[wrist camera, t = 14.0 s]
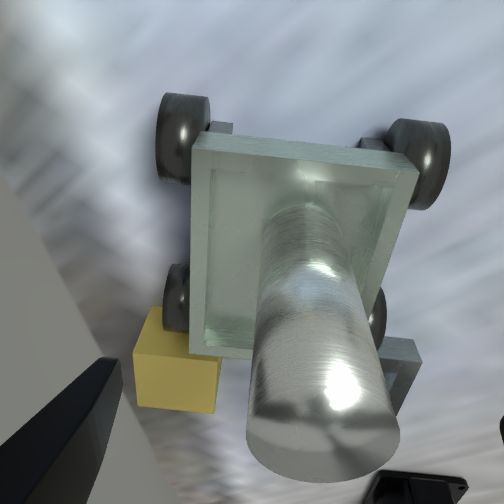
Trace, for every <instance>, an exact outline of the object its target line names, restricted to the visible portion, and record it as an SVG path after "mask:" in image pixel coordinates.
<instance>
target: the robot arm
mask: <svg viewBox="0 0 504 504" xmlns="http://www.w3.org/2000/svg"><path fill="white" fill-rule="evenodd" d="M122 388H123V379H122V371H121V363H120V361H119V359H117V358H109V357H101V358H99V359H98V360H97V361H95V362H94V363H93V364H92V365H91V366H90V367H89V368H87V369H86V370H85V371H84V372H83V373H82V374H81V375H80V376H78V377H77V378H76V379H75V380H74V381H73V382H72V383H71V384H69V385H68V386H67V387H66V388H65V389H64V390H63V391H62V392H60V394H58V395H57V396H56V397H55V398H54V399H53V400H52V401H50V402H49V403H48V404H47V405H46V406H45V407H44V408H43V409H41V410H40V411H39V412H38V413H37V414H36V415H35V416H34V417H32V418H31V419H30V420H29V421H28V422H27V423H26V424H25V425H23V426H22V427H21V428H20V429H19V430H18V431H17V432H16V433H15V434H13V435H12V436H11V437H10V438H9V439H8V440H7V441H6V442H4V443H3V444H2V445H1V446H0V504H86V503H87V500H88V498H89V495H90V493H91V490H92V487H93V485H94V482H95V480H96V477H97V475H98V472H99V470H100V467H101V464H102V461H103V458H104V455H105V451H106V448H107V444H108V441H109V437H110V433H111V429H112V426H113V422H114V419H115V415H116V411H117V408H118V404H119V400H120V396H121V393H122ZM500 433H501V436H502V440H503V443H504V416H503V417H502V419H501V421H500ZM468 488H469V486H468V484H467V481H466V480H465V479H459V478H449V477H439V476H429V475H419V474H409V473H399V472H389V471H383V472H380V473H379V474H378V476H377V478H376V480H375V481H374V483H373V485H372V487H371V489H370V491H369V493H368V495H367V497H366V499H365V501H364V503H363V504H457V503H458V501H459V500H460V499H461V498H462V496H463V495H464V494H465V492H466V491H467V490H468Z"/></svg>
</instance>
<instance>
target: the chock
mask: <svg viewBox="0 0 504 504" xmlns="http://www.w3.org/2000/svg"><path fill="white" fill-rule="evenodd" d="M221 360H222V357H219V356H209V355H200V354H190V353H189V334H187V333H177V332H168V331H164V329H163V325H162V307H161V306H151V308H150V311H149V313H148V316H147V318H146V321H145V323H144V326H143V328H142V331H141V333H140V336H139V338H138V340H137V343H136V345H135V348H134V350H133V363H134V374H135V384H136V394H137V404H138V406H143V407H152V408H162V409H171V410H181V411H191V412H200V413H210V414H214V409H215V402H216V396H217V389H218V382H219V375H220V369H221Z"/></svg>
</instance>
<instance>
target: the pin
mask: <svg viewBox="0 0 504 504" xmlns="http://www.w3.org/2000/svg"><path fill="white" fill-rule="evenodd" d="M246 440H247V444H248V447H249V449H250V451H251V453H252V454H253V456H254V457H255V458H256V459H257V460H258V461H259V462H260V463H261V464H262V465H263V466H265V467H266V468H268V469H269V470H271V471H273V472H275V473H277V474H279V475H282V476H284V477H287V478H291V479H294V480H299V481H304V482H313V483H333V482H342V481H347V480H352V479H356V478H359V477H362V476H364V475H367V474H369V473H371V472H373V471H375V470H377V469H378V468H380V467H381V466H383V465H384V464H385V463H386V462H387V461H388V460H389V459H390V458H391V457H392V456H393V455H394V453H395V451H396V449H397V447H398V445H399V441H400V429H399V426H398V422H397V419H396V416H395V412H394V409H393V405H392V402H391V399H390V395H389V392H388V388H387V385H386V382H385V378H384V375H383V371H382V368H381V365H380V361H379V358H378V354H377V351H376V348H375V344H374V341H373V337H372V334H371V331H370V327H369V324H368V320H367V317H366V314H365V310H364V307H363V303H362V300H361V297H360V293H359V290H358V286H357V283H356V280H355V276H354V273H353V269H352V266H351V263H350V259H349V256H348V252H347V249H346V246H345V242H344V239H343V235H342V232H341V229H340V227H339V225H338V223H337V222H336V221H335V220H334V218H333V217H331V216H330V215H329V214H328V213H326V212H324V211H322V210H320V209H317V208H313V207H304V206H302V207H294V208H290V209H287V210H285V211H283V212H281V213H279V214H277V215H276V216H275V217H274V218H273V219H272V220H271V221H270V222H269V223H268V225H267V226H266V228H265V230H264V233H263V236H262V245H261V257H260V269H259V282H258V294H257V306H256V318H255V331H254V343H253V355H252V367H251V380H250V392H249V404H248V416H247V429H246Z"/></svg>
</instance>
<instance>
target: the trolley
mask: <svg viewBox="0 0 504 504" xmlns="http://www.w3.org/2000/svg"><path fill="white" fill-rule="evenodd" d="M232 130H233V123H227V122H218V121H213V122H212V124H211V126H210V104H209V99H208V97H203V96H194V95H185V94H177V93H165V95H164V96H163V98H162V101H161V104H160V108H159V112H158V118H157V126H156V164H157V171H158V175H159V178H160V180H161V181H162V182H164V183H173V184H183V185H191V238H190V265H182V264H172V266H171V268H170V270H169V273H168V276H167V280H166V285H165V290H164V297H163V307H162V325H163V329H164V331H168V332H177V333H187V334H189V353H190V354H200V355H209V356H219V357H229V358H238V359H248V360H252V355H253V343H254V331H255V318H256V306H257V294H258V282H259V269H260V257H261V245H262V236H263V233H264V230H265V228H266V226H267V225H268V223H269V222H270V221H271V220H272V219H273V218H274V217H275V216H276V215H277V214H279V213H281V212H283V211H285V210H287V209H290V208H294V207H302V206H304V207H313V208H317V209H320V210H322V211H324V212H326V213H328V214H329V215H330V216H331V217H333V218H334V220H335V221H336V222H337V223H338V225H339V227H340V229H341V232H342V235H343V239H344V242H345V246H346V249H347V252H348V256H349V259H350V263H351V266H352V269H353V273H354V276H355V280H356V283H357V286H358V290H359V293H360V297H361V300H362V303H363V307H364V310H365V314H366V317H367V320H368V324H369V327H370V331H371V334H372V337H373V341H374V344H375V348H376V351H378V350H379V348H380V347H381V344H382V342H383V339H384V335H385V330H386V321H387V307H386V300H385V295H384V292H383V290H382V288H381V287H380V286H381V283H382V280H383V277H384V274H385V271H386V269H387V266H388V263H389V260H390V257H391V254H392V251H393V248H394V246H395V243H396V240H397V237H398V234H399V231H400V228H401V225H402V223H403V220H404V217H405V214H406V211H407V209H413V210H426V209H428V208H429V207H430V206H431V205H432V204H433V203H434V202H435V200H436V199H437V197H438V196H439V194H440V192H441V190H442V188H443V185H444V183H445V180H446V177H447V173H448V169H449V164H450V156H451V141H450V135H449V132H448V129H447V127H446V126H445V125H444V124H442V123H437V122H428V121H419V120H410V119H401V118H400V119H398V120H396V121H395V122H394V123H393V124H392V126H391V127H390V129H389V131H388V133H387V135H386V138H385V140H384V142H383V141H382V140H380V139H371V138H362V139H361V143H360V147H359V148H351V147H342V146H333V145H324V144H315V143H306V142H297V141H287V140H278V139H269V138H260V137H251V136H242V135H233V134H232Z"/></svg>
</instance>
